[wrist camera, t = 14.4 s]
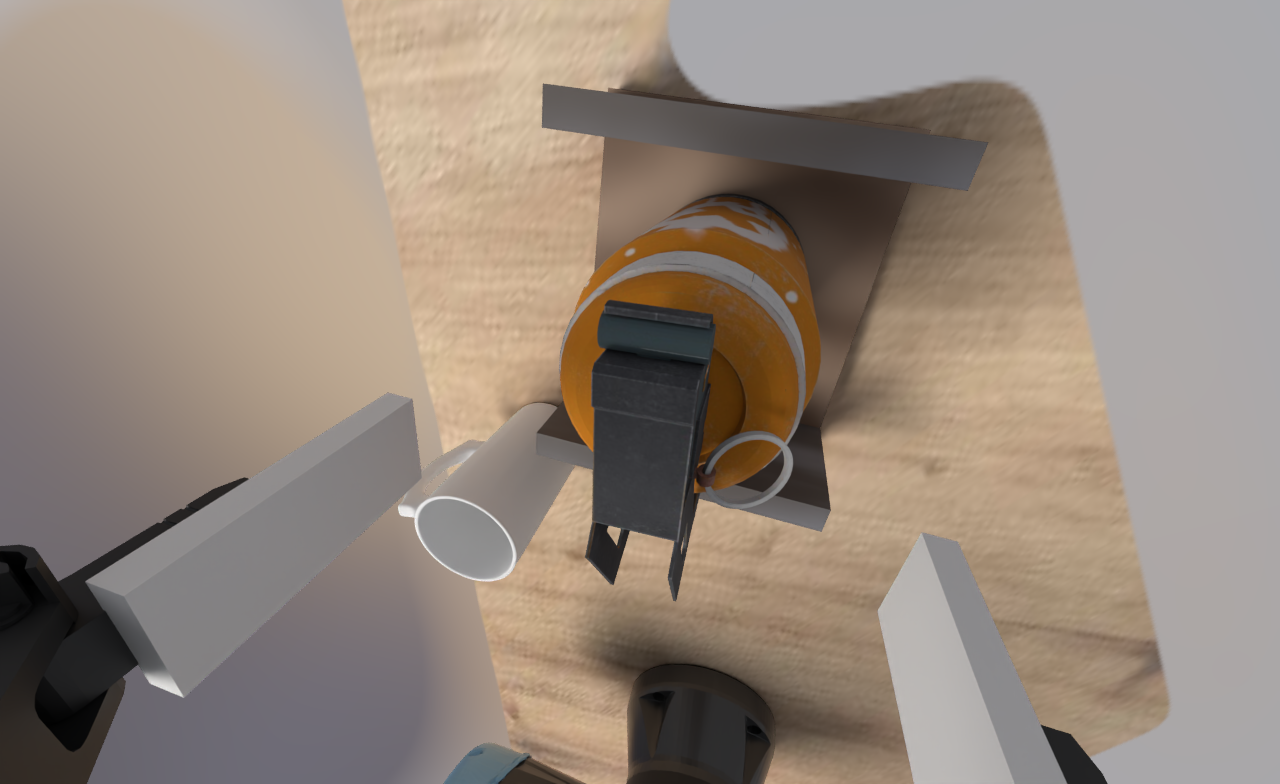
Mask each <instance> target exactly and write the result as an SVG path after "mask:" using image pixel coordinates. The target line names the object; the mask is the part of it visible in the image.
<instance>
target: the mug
mask: <svg viewBox="0 0 1280 784" xmlns="http://www.w3.org/2000/svg"><path fill="white" fill-rule="evenodd" d="M557 408H558V407H556V406H554V405H551V404H547V403H532V404H529V405H526V406H524V407H522V408H521V409H520V410H519V411H518V412H516V413H515V414H514V415H513V416H512V417H511V418H510V419H509V420H508V421H507V422H505V423H504V424H503V425H502V426H501V427H500V428H499V429H498V430H497V431H496V432H495V433H494V434H493V435H492V436H491V437H490V438H489V439H488V440H487V441H486V442H484V441H477V440H469V441H467V442H465V443H463V444H461V445H460V446H458V447H456V448H454V449H453V450H451V451H449V452H447V453H445V454H444V455H442V456H441V457H439V458H437V459H436V460H434V461H433V462H431V463H430V464H428V465H427V466H426V467H425V468H424V469H422V470H421V474H422V479H421V480H419V481H418V482H417V483H416V484H415V485H414V486H413V487H412V488H411V489H410V490H409V491H408V492H406V494H405V497H404V500H403V501H402V503H401V504H400V505H399V506H398V511H399V514H400V515H401V516H407V517H414V518H415V528H416V532H417V534H418V537H419V539H420V540H421V542H422V544H423V545H424V547H425V548H426V549H427V550H428V552H429V553H430V554H431V555H432V556H433V557H434V558H435V559H436V560H437V561H438V562H440V563H441V564H442V565H443V566H445V567H446V568H448V569H450V570H451V571H453V572H455V573H457V574H459V575H461V576H463V577H466V578H469V579H473V580H477V581H496V580H500V579H502V578H504V577H506V576H508V575H509V574H510V573H511V572H512V570H513V569H514V567H515V565H516V563H517V562H518V560H519V559H520V557H521V556H522V554H523V552H524V551H525V549H526V547H527V546H528V544H529V542H530V541H531V539H532V537H533V536H534V534H535V532H536V531H537V529H538V527H539V525H540V524H541V522H542V520H543V519H544V517H545V515H546V514H547V512H548V510H549V509H550V507H551V505H552V504H553V502H554V500H555V498H556V497H557V495H558V493H559V492H560V490H561V488H562V487H563V485H564V483H565V482H566V480H567V478H568V477H569V475H570V474H571V472H572V470H573V468H574V467H575V465H574V464H570V463H567V462H563V461H559V460H556V459H552V458H548V457H544V456H541V455H537V454H536V433H537V432H538V430H539V429H540V428H541V427H542V426H543V424H544V423H545V422H546V421H547V420H548V418H549V417H550V416H551V415H552V414H553V413H554V411H555V410H556V409H557ZM463 462H464V463H463ZM460 463H463V464H462V465H461V466H460V467H459V468H458V469H457V470H455V471H454V472H453V473H452V474H451V475H450V476H449V477H448V478H447V479H446V480H445V481H444V482H443V483H442V484H441V485H440V486H439V487H438V488H437V489H436V490H435V491H434V492H433V493H432V494H431V495H430V496H428V495H426V494H425V491H426V488H427V486H428V485H429V483H430V482H431V481H432V480H433V479H434V478H435V477H436V476H437V475H439V474H440V473H441V472H443V471H445V470H446V469H448V468H450V467H452V466H454V465H457V464H460Z"/></svg>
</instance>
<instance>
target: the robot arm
mask: <svg viewBox="0 0 1280 784" xmlns="http://www.w3.org/2000/svg"><path fill="white" fill-rule="evenodd" d="M417 442H418V441H417V433H416V426H415V417H414V408H413V401H412V399H410V398H407V397H403V396H399V395H395V394H391V393H386V394H385V395H383V396H382V397H380V398H378V399H377V400H375V401H374V402H372V403H371V404H369V405H367V406H366V407H364V408H362V409H361V410H359V411H358V412H356V413H354V414H353V415H351V416H350V417H348V418H346V419H345V420H343V421H342V422H340V423H338V424H337V425H335V426H333V427H332V428H330V429H329V430H327V431H325V432H324V433H322V434H321V435H319V436H317V437H316V438H314V439H313V440H311V441H310V442H308V443H306V444H305V445H303V446H302V447H300V448H298V449H297V450H295V451H294V452H292V453H290V454H289V455H287V456H285V457H284V458H282V459H281V460H279V461H278V462H276V463H274V464H273V465H271V466H270V467H268V468H266V469H265V470H263V471H261V472H260V473H258V474H257V475H255V476H253V477H252V478H250V479H248V478H242V479H239V480H236V481H233V482H231V483H228V484H226V485H223V486H220V487H218V488H215V489H213V490H211V491H209V492H208V493H206V494H204V495H203V496H201V497H199V498H198V499H196V500H194V501H193V502H191V503H190V504H188V505H186V508H185V509H180V510H178V511H176V512H175V513H173V514H171V515H170V516H168V517H166V518H165V519H164V521H163V522H162V523H156V524H155V525H153V526H151V527H150V528H148V529H146V530H145V531H143V532H141V533H140V534H138V535H136V536H135V537H133V538H131V539H130V540H128V541H127V542H125V543H123V544H121V545H120V546H118V547H116V548H115V549H113V550H111V551H110V552H108V553H107V554H105V555H103V556H101V557H100V558H98V559H97V560H95V561H93V562H92V563H90V564H88V565H87V566H85V567H83V568H82V569H80V570H78V571H77V572H75V573H73V574H72V575H70V576H68V577H66V578H64V579H62V580H61V581H59V582H58V581H57V580H56V578H55V577H54V575H53V574H52V573H51V571H50V570H49V568H48V567H47V565H46V564H45V562H44V561H43V559H42V558H41V556H40V555H39V554H38V552H37V551H36V550H35V548H33V547H28V546H23V545H10V546H0V784H87V782H88V779H89V777H90V774H91V772H92V770H93V767H94V765H95V762H96V760H97V757H98V755H99V753H100V750H101V748H102V745H103V743H104V740H105V738H106V736H107V733H108V730H109V728H110V726H111V724H112V721H113V719H114V716H115V714H116V711H117V709H118V706H119V704H120V701H121V699H122V697H123V694H124V689H125V683H126V681H125V680H124V678H123V676H124V675H125V674H127V673H128V672H129V671H130V670H132V669H133V668H134V667H135V666H137V665H139V667H140V668H141V670H142V671H143V673H144V674H145V676H146V678H147V679H148V681H149V682H150V684H152V685H155V686H157V687H159V688H162V689H164V690H167V691H169V692H172V693H174V694H176V695H179V696H181V697H185V696H187V695H188V694H189V693H190V692H191V691H192V690H193V689H194V688H195V687H196V686H197V685H198V684H200V683H201V682H202V681H203V680H204V679H205V678H206V677H207V676H208V675H209V674H210V673H211V672H212V671H214V670H215V669H216V668H217V667H218V666H219V665H220V664H221V663H222V662H223V661H224V660H225V659H227V658H228V657H229V656H230V655H231V654H232V653H233V652H234V651H235V650H236V649H237V648H238V647H239V646H241V645H242V644H243V643H244V642H245V641H246V640H247V639H248V638H249V637H250V636H252V635H253V634H254V633H255V632H256V631H257V630H258V629H259V628H260V627H261V626H262V625H263V624H265V622H267V621H268V620H269V619H270V618H271V617H272V616H273V615H274V614H275V613H276V612H277V611H279V610H280V609H281V608H282V607H283V606H284V605H285V604H286V603H287V602H288V601H289V600H291V599H292V598H293V597H294V596H295V595H296V594H297V593H298V592H299V591H300V590H301V589H302V588H303V587H305V585H307V584H308V583H309V582H310V581H311V580H312V579H313V578H314V577H315V576H317V575H318V574H319V573H320V572H321V571H322V570H323V569H324V568H325V567H326V566H327V565H328V564H329V563H331V562H332V561H333V560H334V559H335V558H336V557H337V556H338V555H339V554H340V553H341V552H343V551H344V550H345V549H346V548H347V547H348V546H349V545H350V544H351V543H352V542H353V541H354V540H356V538H357V537H359V536H360V535H361V534H362V533H363V532H364V531H365V530H366V529H367V528H368V527H369V526H371V525H372V524H373V523H374V522H375V521H376V520H377V519H378V518H379V517H380V516H381V515H383V514H384V513H385V512H386V511H387V510H388V509H389V508H390V507H391V506H392V505H393V504H394V503H396V502H397V501H398V500H399V499H400V498H401V497H402V496H403V495H404V494H405V493H406V492H408V491H409V490H410V489H411V488H412V487H413V486H414V485H415V484H416V483H417V482H418V481H419V480H421V479H422V474H421V466H420V458H419V450H418V443H417ZM878 616H879V620H880V625H881V630H882V634H883V639H884V644H885V649H886V653H887V658H888V663H889V667H890V672H891V677H892V682H893V686H894V691H895V696H896V701H897V705H898V710H899V715H900V719H901V724H902V729H903V734H904V738H905V743H906V748H907V753H908V757H909V762H910V767H911V771H912V776H913V781H914V784H1107V782H1106V780H1105V778H1104V776H1103V774H1102V773H1101V771H1100V770H1099V769H1098V768H1097V766H1096V765H1095V764H1094V763H1093V761H1092V760H1091V759H1090V758H1089V756H1088V755H1087V754H1086V753H1085V752H1084V750H1083V749H1082V748H1081V747H1080V745H1079V744H1078V743H1077V742H1076V740H1075V739H1074V738H1073V737H1072V735H1071V734H1068V733H1065V732H1062V731H1059V730H1055V729H1052V728H1049V727H1046V726H1043V725H1040V723H1039V720H1038V718H1037V716H1036V714H1035V712H1034V709H1033V707H1032V705H1031V703H1030V701H1029V698H1028V696H1027V694H1026V692H1025V689H1024V687H1023V685H1022V683H1021V681H1020V678H1019V676H1018V674H1017V672H1016V670H1015V667H1014V665H1013V663H1012V661H1011V659H1010V656H1009V654H1008V652H1007V650H1006V647H1005V645H1004V643H1003V641H1002V639H1001V636H1000V634H999V632H998V630H997V628H996V625H995V623H994V621H993V619H992V617H991V614H990V612H989V610H988V608H987V605H986V603H985V601H984V599H983V597H982V594H981V592H980V590H979V588H978V586H977V583H976V581H975V579H974V577H973V575H972V572H971V570H970V568H969V566H968V563H967V561H966V559H965V557H964V555H963V552H962V550H961V548H960V546H959V544H958V542H957V541H953V540H949V539H945V538H941V537H937V536H934V535H930V534H926V533H921V534H920V536H919V538H918V540H917V542H916V543H915V545H914V547H913V549H912V550H911V552H910V554H909V556H908V558H907V559H906V561H905V563H904V565H903V567H902V568H901V570H900V572H899V574H898V575H897V577H896V579H895V581H894V583H893V584H892V586H891V588H890V590H889V591H888V593H887V595H886V597H885V599H884V600H883V602H882V604H881V606H880V608H879V609H878ZM627 732H628V779H627V783H626V784H764V782H765V779H766V776H767V773H768V770H769V767H770V764H771V761H772V758H773V755H774V748H775V722H774V718H773V715H772V713H771V711H770V709H769V708H768V706H767V705H766V704H765V702H764V701H763V700H762V699H761V698H760V697H759V696H758V695H757V694H756V693H755V692H753V691H752V690H751V689H749V688H748V687H747V686H745V685H744V684H742V683H740V682H739V681H737V680H735V679H733V678H731V677H729V676H727V675H724V674H722V673H719V672H716V671H713V670H710V669H706V668H702V667H697V666H690V665H665V666H659V667H656V668H653V669H650V670H648V671H646V672H644V673H643V674H642V675H640V676H639V677H638V678H637V680H636V681H635V683H634V685H633V689H632V692H631V696H630V700H629V703H628V709H627ZM444 784H586V783H583V782H581V781H579V780H577V779H575V778H573V777H571V776H569V775H566V774H564V773H562V772H560V771H558V770H556V769H554V768H551V767H549V766H547V765H545V764H543V763H541V762H539V761H537V760H534V759H532V755H530V754H529V753H523V754H521V753H518V752H516V751H513V750H511V749H508V748H505V747H503V746H500V745H498V744H495V743H484V744H482V745H479V746H477V747H475V748H474V749H473V750H472V751H470V752H469V753H468V754H467V755H466V756H465V757H464V758H463V759H462V760H461V761H460V763H459V764H458V765H457V766H456V767H455V769H454V770H453V771H452V772H451V774H450V775H449V776H448V778H447V779H446V781H445V782H444Z"/></svg>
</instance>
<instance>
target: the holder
mask: <svg viewBox="0 0 1280 784" xmlns="http://www.w3.org/2000/svg"><path fill="white" fill-rule="evenodd" d="M542 128H549V129H556V130H562V131H569V132H576V133H583V134H589V135H596V136H603V137H605V139H604V152H603V165H602V179H601V192H600V205H599V218H598V232H597V245H596V258H595V271H596V270H597V269H598V268H599V267H600V266H601V265H602V263H603V262H604V261H605V260H606V259H608V258H609V257H610V256H611V255H613V254H614V253H615V252H617V251H618V250H619V249H621V248H622V247H623V246H625V245H626V244H628V243H629V242H631V241H633V240H634V239H636V238H637V237H639V236H640V235H642V234H643V233H645V232H646V231H648V230H649V229H651V228H652V227H654V226H655V225H657V224H658V223H660V222H661V221H663V220H665V219H666V218H668V217H669V216H671V215H672V214H674V213H675V212H677V211H678V210H680V209H681V208H683V207H684V206H686V205H688V204H690V203H692V202H694V201H696V200H698V199H701V198H704V197H707V196H711V195H718V194H739V195H745V196H749V197H752V198H755V199H758V200H761V201H763V202H764V203H766V204H768V205H770V206H771V207H773V208H774V209H775V210H777V211H778V212H779V213H780V214H781V215H783V216H784V217H785V219H786V220H787V221H788V222H789V223H790V224H791V226H792V227H793V229H794V231H795V232H796V234H797V236H798V237H799V240H800V243H801V245H802V248H803V251H804V257H805V262H806V267H807V272H808V277H809V283H810V288H811V293H812V298H813V303H814V309H815V314H816V319H817V324H818V330H819V335H820V340H821V364H820V369H819V375H818V381H817V383H816V386H815V389H814V392H813V394H812V397H811V399H810V401H809V402H808V404H807V406H806V408H805V409H804V411H803V413H802V416H801V418H800V421H799V424H798V427H797V429H796V431H795V433H794V434H793V436H792V438H791V439H790V441H789V443H788V444H787V446H788V447H789V449H790V451H791V453H792V457H793V468H792V472H791V475H790V477H789V479H788V481H787V483H786V484H785V485H784V487H783V488H782V489H781V490H780V491H779V492H778V493H777V494H776V495H775V496H773V497H772V498H770V499H769V500H767V501H765V502H763V503H761V504H759V505H756V506H753V507H749V508H743V509H740V510H743V511H747V512H751V513H754V514H758V515H762V516H765V517H769V518H773V519H776V520H780V521H784V522H787V523H791V524H795V525H799V526H802V527H806V528H810V529H813V530H817V531H821V532H822V529H823V527H824V525H825V522H826V520H827V518H828V515H829V513H830V511H831V509H830V501H829V493H828V486H827V478H826V470H825V463H824V455H823V447H822V440H821V432H820V427H821V424H822V421H823V419H824V416H825V413H826V411H827V408H828V405H829V403H830V400H831V397H832V394H833V392H834V389H835V386H836V384H837V381H838V378H839V376H840V373H841V370H842V368H843V365H844V362H845V359H846V357H847V354H848V351H849V349H850V346H851V343H852V341H853V338H854V335H855V333H856V330H857V327H858V324H859V322H860V319H861V316H862V314H863V311H864V308H865V306H866V303H867V300H868V297H869V295H870V292H871V289H872V287H873V284H874V281H875V279H876V276H877V273H878V271H879V268H880V265H881V262H882V260H883V257H884V254H885V252H886V249H887V246H888V244H889V241H890V238H891V236H892V233H893V230H894V227H895V225H896V222H897V219H898V217H899V214H900V211H901V209H902V206H903V203H904V201H905V198H906V195H907V192H908V190H909V187H910V184H911V182H912V183H919V184H926V185H932V186H939V187H946V188H953V189H959V190H966V191H968V189H969V186H970V184H971V182H972V179H973V177H974V175H975V172H976V170H977V168H978V165H979V163H980V161H981V158H982V156H983V154H984V151H985V149H986V147H987V144H988V142H981V141H973V140H966V139H958V138H951V137H943V136H935V135H929V133H930V131H931V130H927V129H919V128H912V127H904V126H896V125H889V124H881V123H873V122H866V121H858V120H850V119H843V118H835V117H828V116H820V115H812V114H805V113H797V112H789V111H782V110H774V109H766V108H759V107H751V106H743V105H736V104H728V103H720V102H713V101H705V100H697V99H690V98H682V97H674V96H667V95H659V94H651V93H644V92H636V91H628V90H621V89H613V88H608V92H603V91H595V90H588V89H580V88H572V87H565V86H557V85H550V84H543V106H542ZM595 271H594V272H595ZM536 454H537V455H541V456H544V457H548V458H552V459H556V460H559V461H563V462H567V463H570V464H574V465H578V466H581V467H585V468H589V469H592V470H593V452H592V451H591V450H590V448H589V447H588V446H587V445H586V443H585V442H584V441H583V440H582V438H581V437H580V435H579V434H578V432H577V431H576V429H575V427H574V426H573V424H572V422H571V419H570V417H569V415H568V413H567V410H566V407H565V404H564V401H563V402H562V403H561V404H560V405H559V407H558V408H557V409H556V410H555V411H554V413H553V414H552V415H551V416H550V417H549V418H548V420H547V421H546V422H545V423H544V424H543V426H542V427H541V428H540V429H539V430H538V432H537V433H536ZM783 466H784V454H783V451H781V453H780V454H779V455H778V456H777V457H776V458H775V459H774V460H773V461H771V462H770V463H769V464H768V465H767V466H765V467H764V468H763V469H761V470H760V471H758V472H757V473H756V474H754V475H752V476H751V477H749V478H747V479H746V480H744V481H742V482H740V483H737V484H735V485H732V486H730V487H728V488H724V489H720V490H716V491H715V492H716V493H717V494H718V495H720V496H722V497H724V498H727V499H732V500H742V499H748V498H751V497H754V496H757V495H759V494H761V493H763V492H764V491H766V490H767V489H768V488H769V487H771V486H772V485H773V484H774V483H775V482H776V480H777V479H778V478H779V476H780V474H781V472H782V469H783ZM699 499H703V500H706V501H710V502H714V501H713V500H712V499H711V498H710V497H709V496H708V494H707V492H702V493H700V496H699ZM714 503H715V502H714Z"/></svg>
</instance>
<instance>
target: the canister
mask: <svg viewBox="0 0 1280 784" xmlns="http://www.w3.org/2000/svg"><path fill="white" fill-rule="evenodd" d="M820 364H821V340H820V335H819V330H818V324H817V319H816V314H815V309H814V303H813V298H812V293H811V288H810V283H809V277H808V272H807V267H806V262H805V257H804V251H803V248H802V245H801V243H800V240H799V237H798V236H797V234H796V232H795V231H794V229H793V227H792V226H791V224H790V223H789V222H788V221H787V220H786V219H785V217H784V216H783V215H781V214H780V213H779V212H778V211H777V210H775V209H774V208H773V207H771V206H770V205H768V204H766V203H764V202H763V201H761V200H758V199H755V198H752V197H749V196H745V195H739V194H718V195H711V196H707V197H704V198H701V199H698V200H696V201H694V202H692V203H690V204H688V205H686V206H684V207H683V208H681V209H680V210H678V211H677V212H675V213H674V214H672V215H671V216H669V217H668V218H666V219H665V220H663V221H661V222H660V223H658V224H657V225H655V226H654V227H652V228H651V229H649V230H648V231H646V232H645V233H643V234H642V235H640V236H639V237H637V238H636V239H634V240H633V241H631V242H629V243H628V244H626V245H625V246H623V247H622V248H621V249H619V250H618V251H617V252H615V253H614V254H613V255H611V256H610V257H609V258H608V259H606V260H605V261H604V262H603V263H602V265H601V266H600V267H599V268H598V269H597V270H596V271H595V272H594V273H593V275H592V276H591V278H590V279H589V281H588V282H587V284H586V286H585V287H584V289H583V291H582V293H581V295H580V298H579V300H578V303H577V305H576V309H575V313H574V316H573V317H572V319H571V320H570V323H569V325H568V327H567V330H566V332H565V335H564V338H563V342H562V347H561V351H560V364H559V372H560V381H561V390H562V396H563V400H564V404H565V407H566V410H567V413H568V415H569V417H570V419H571V422H572V424H573V426H574V427H575V429H576V431H577V432H578V434H579V435H580V437H581V438H582V440H583V441H584V442H585V443H586V445H587V446H588V447H589V448H590V450H591V451H592V452H593V505H592V525H591V530H590V535H589V540H588V545H587V550H586V555H585V558H586V559H588V560H589V561H590V562H591V563H592V565H593V566H594V567H595V568H596V569H597V570H598V571H599V572H600V573H601V574H602V575H603V576H604V577H605V579H606V580H607V581H608V582H609V583H610V584H612V585H614V581H615V578H616V575H617V571H618V568H619V565H620V561H621V558H622V555H623V551H624V548H625V545H626V541H627V538H628V535H629V531H634V532H638V533H643V534H647V535H651V536H655V537H659V538H664V539H668V540H672V541H675V542H674V547H673V552H672V558H671V563H670V569H669V574H668V581H669V585H670V589H671V593H672V597H673V601H676V599H677V595H678V590H679V585H680V580H681V576H682V571H683V566H684V561H685V557H686V552H687V547H688V542H689V538H690V533H691V529H692V525H693V521H694V517H695V512H696V509H697V504H698V499H699V496H700V493H702V492H707V494H708V496H709V497H710V498H711V499H712V500H713V501H714V502H715V503H717V504H718V505H721V506H723V507H726V508H732V509H743V508H749V507H753V506H756V505H759V504H761V503H763V502H765V501H767V500H769V499H770V498H772V497H773V496H775V495H776V494H777V493H778V492H779V491H780V490H781V489H782V488H783V487H784V485H785V484H786V483H787V481H788V479H789V477H790V475H791V472H792V468H793V457H792V453H791V451H790V449H789V447H788V446H787V444H788V443H789V441H790V439H791V438H792V436H793V434H794V433H795V431H796V429H797V427H798V424H799V421H800V418H801V416H802V413H803V411H804V409H805V408H806V406H807V404H808V402H809V401H810V399H811V397H812V394H813V392H814V389H815V386H816V383H817V381H818V375H819V369H820ZM781 451H783V454H784V466H783V469H782V472H781V474H780V476H779V478H778V479H777V480H776V482H775V483H774V484H773V485H772V486H771V487H769V488H768V489H767V490H766V491H764V492H763V493H761V494H759V495H757V496H754V497H751V498H748V499H742V500H732V499H727V498H724V497H722V496H720V495H718V494H717V493H716V492H715V491H716V490H720V489H724V488H728V487H730V486H732V485H735V484H737V483H740V482H742V481H744V480H746V479H747V478H749V477H751V476H752V475H754V474H756V473H757V472H758V471H760V470H761V469H763V468H764V467H765V466H767V465H768V464H769V463H770V462H771V461H773V460H774V459H775V458H776V457H777V456H778V455H779V454H780V453H781ZM608 526H613V527H617V528H621V532H620V536H619V540H618V544H617V545H616V544H615V543H614V541H613V540H612V538H611V537H610V535H609V534H608V533H607V528H608ZM683 537H684V540H683ZM682 541H683V549H682V554H681V545H682Z"/></svg>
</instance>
